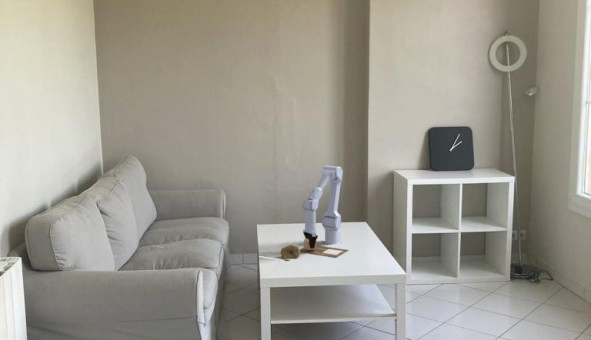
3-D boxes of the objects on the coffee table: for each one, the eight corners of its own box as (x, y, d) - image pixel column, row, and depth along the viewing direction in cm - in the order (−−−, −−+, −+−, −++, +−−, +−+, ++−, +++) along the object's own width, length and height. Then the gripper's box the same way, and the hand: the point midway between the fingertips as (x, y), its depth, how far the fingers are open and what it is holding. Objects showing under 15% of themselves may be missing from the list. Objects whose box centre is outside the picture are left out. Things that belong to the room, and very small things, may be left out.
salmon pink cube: (313, 246, 325) (313, 238, 324) (316, 249, 320) (316, 240, 319) (304, 247, 324) (304, 239, 323) (307, 249, 319) (307, 241, 318)
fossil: (278, 247, 311) (297, 242, 312) (279, 251, 314) (297, 246, 316) (283, 262, 306) (302, 256, 307) (284, 266, 309) (302, 261, 311)
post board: (309, 246, 334) (309, 238, 333) (349, 251, 322) (349, 243, 321) (295, 253, 320) (295, 245, 319) (335, 259, 308) (335, 251, 307)
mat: (329, 249, 323) (329, 248, 323) (342, 251, 319) (342, 250, 319) (322, 253, 316) (322, 252, 316) (335, 255, 312) (335, 254, 312)
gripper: (299, 219, 326) (299, 243, 328) (306, 225, 312) (307, 250, 314) (311, 218, 327) (312, 242, 329) (319, 224, 314) (320, 249, 316)
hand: (310, 246), depth 322 cm, fingers closed on salmon pink cube, 5 cm apart
